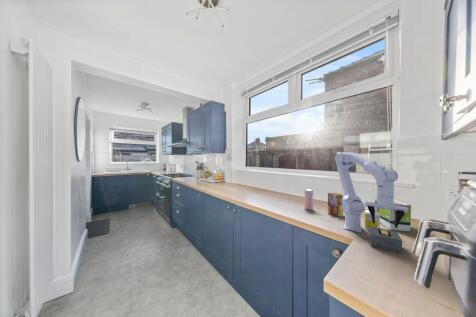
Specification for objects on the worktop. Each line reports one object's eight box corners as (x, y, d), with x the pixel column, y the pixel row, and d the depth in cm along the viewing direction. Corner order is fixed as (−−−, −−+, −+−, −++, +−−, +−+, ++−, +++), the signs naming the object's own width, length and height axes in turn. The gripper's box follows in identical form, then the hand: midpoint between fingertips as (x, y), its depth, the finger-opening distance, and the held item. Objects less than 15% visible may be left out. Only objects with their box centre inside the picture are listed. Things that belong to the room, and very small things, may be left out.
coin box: (369, 238, 83) (369, 226, 83) (396, 244, 78) (396, 231, 77) (371, 246, 75) (371, 233, 75) (401, 254, 69) (402, 240, 69)
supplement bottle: (369, 226, 97) (369, 204, 97) (382, 231, 91) (383, 207, 91) (361, 227, 95) (362, 205, 95) (374, 233, 89) (375, 209, 89)
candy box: (343, 215, 115) (343, 193, 115) (341, 217, 112) (342, 194, 111) (329, 212, 121) (329, 191, 121) (327, 213, 118) (327, 192, 118)
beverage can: (305, 207, 132) (306, 188, 132) (313, 209, 129) (314, 189, 128) (303, 209, 128) (303, 189, 128) (311, 210, 124) (311, 191, 124)
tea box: (411, 231, 91) (412, 205, 90) (390, 230, 93) (390, 203, 92) (392, 221, 105) (392, 198, 105) (373, 220, 107) (374, 197, 107)
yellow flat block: (379, 242, 79) (380, 229, 79) (386, 243, 78) (387, 230, 77) (381, 246, 75) (381, 233, 75) (388, 248, 73) (388, 235, 73)
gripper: (365, 194, 77) (365, 223, 77) (410, 199, 68) (409, 232, 69) (364, 192, 83) (364, 219, 83) (405, 196, 74) (404, 226, 75)
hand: (384, 224), depth 76 cm, fingers open, 7 cm apart
